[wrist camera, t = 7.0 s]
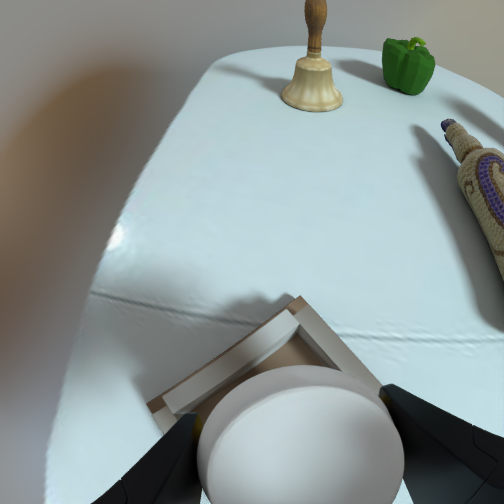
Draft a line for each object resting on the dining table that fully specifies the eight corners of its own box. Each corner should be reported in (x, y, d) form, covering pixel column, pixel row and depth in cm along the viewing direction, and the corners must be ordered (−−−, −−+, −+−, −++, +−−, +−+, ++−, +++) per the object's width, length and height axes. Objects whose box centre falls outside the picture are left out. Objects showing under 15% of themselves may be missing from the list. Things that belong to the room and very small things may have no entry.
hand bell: (285, 81, 38) (282, -18, 24) (341, 87, 36) (349, -12, 23) (277, 109, 34) (272, -11, 20) (343, 116, 32) (356, -4, 19)
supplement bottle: (212, 427, 13) (114, 437, 5) (296, 367, 15) (327, 290, 6) (277, 502, 11) (276, 611, 2) (361, 439, 12) (478, 457, 4)
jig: (264, 542, 12) (262, 563, 9) (151, 404, 18) (129, 401, 15) (414, 427, 15) (438, 428, 12) (299, 300, 21) (303, 279, 18)
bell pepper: (373, 72, 40) (381, 21, 31) (417, 82, 38) (428, 33, 30) (382, 94, 36) (393, 35, 27) (431, 105, 34) (447, 51, 26)
